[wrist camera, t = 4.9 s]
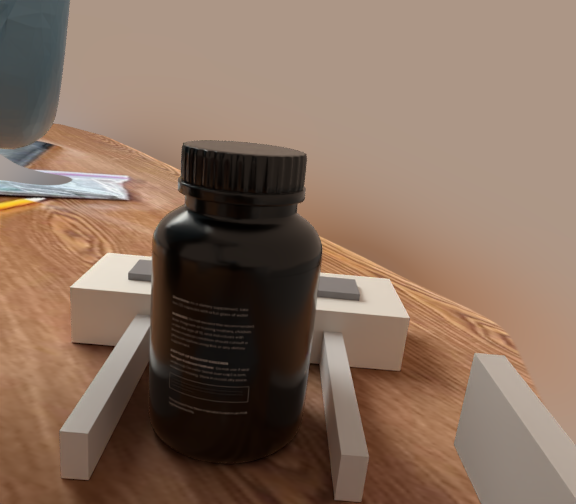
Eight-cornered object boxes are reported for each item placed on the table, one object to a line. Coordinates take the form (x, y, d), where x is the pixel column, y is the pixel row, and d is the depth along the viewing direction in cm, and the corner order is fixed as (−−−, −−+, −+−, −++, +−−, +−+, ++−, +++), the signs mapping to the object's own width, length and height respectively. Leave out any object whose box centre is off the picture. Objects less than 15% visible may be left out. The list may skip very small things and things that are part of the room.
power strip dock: (-37, 470, 19) (-46, 382, 18) (107, 299, 34) (107, 246, 33) (454, 509, 20) (474, 427, 19) (381, 324, 35) (390, 273, 34)
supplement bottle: (333, 425, 24) (372, 159, 20) (213, 498, 19) (236, 165, 15) (234, 363, 28) (252, 135, 25) (116, 409, 23) (117, 134, 20)
